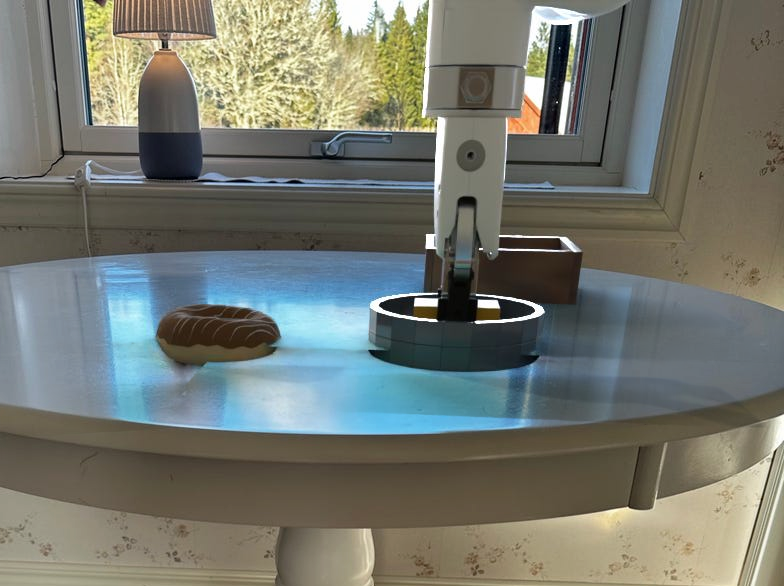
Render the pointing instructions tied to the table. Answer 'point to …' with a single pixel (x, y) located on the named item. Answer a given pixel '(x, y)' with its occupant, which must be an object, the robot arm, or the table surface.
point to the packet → (428, 306)
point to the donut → (216, 334)
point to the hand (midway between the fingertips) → (453, 340)
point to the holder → (519, 269)
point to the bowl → (455, 336)
